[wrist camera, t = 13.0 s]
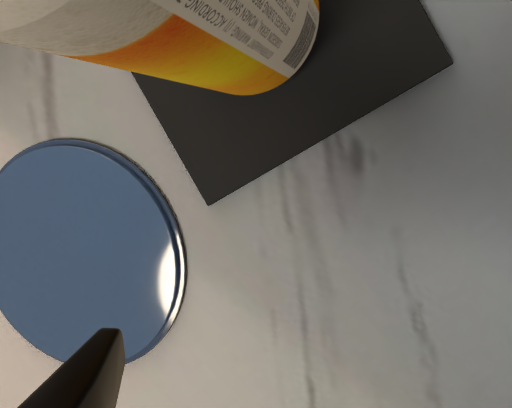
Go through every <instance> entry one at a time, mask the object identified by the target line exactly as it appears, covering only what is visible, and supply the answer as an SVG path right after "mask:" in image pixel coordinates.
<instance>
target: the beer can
mask: <svg viewBox="0 0 512 408" xmlns="http://www.w3.org/2000/svg"><path fill="white" fill-rule="evenodd" d="M318 24H319V1H318V0H0V42H4V43H8V44H13V45H17V46H21V47H26V48H30V49H35V50H39V51H43V52H48V53H52V54H57V55H61V56H65V57H70V58H74V59H79V60H83V61H87V62H92V63H96V64H101V65H105V66H109V67H114V68H118V69H123V70H127V71H131V72H136V73H140V74H145V75H149V76H153V77H158V78H162V79H167V80H171V81H176V82H180V83H184V84H189V85H193V86H198V87H202V88H206V89H211V90H215V91H220V92H224V93H228V94H233V95H254V94H260V93H263V92H266V91H269V90H271V89H273V88H275V87H277V86H279V85H281V84H282V83H284V82H285V81H286V80H288V79H289V78H290V77H291V76H292V75H293V74H294V73H295V72H296V71H297V70H298V69H299V68H300V67H301V65H302V64H303V62H304V61H305V59H306V58H307V56H308V54H309V52H310V51H311V48H312V46H313V43H314V41H315V37H316V34H317V30H318Z"/></svg>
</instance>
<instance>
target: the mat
mask: <svg viewBox="0 0 512 408" xmlns="http://www.w3.org/2000/svg"><path fill="white" fill-rule="evenodd" d="M318 1H319V24H318V30H317V34H316V37H315V41H314V43H313V46H312V48H311V51H310V52H309V54H308V56H307V58H306V59H305V61H304V62H303V64H302V65H301V67H300V68H299V69H298V70H297V71H296V72H295V73H294V74H293V75H292V76H291V77H290V78H289V79H288V80H286V81H285V82H284V83H282V84H281V85H279V86H277V87H275V88H273V89H271V90H269V91H266V92H263V93H260V94H254V95H233V94H228V93H224V92H220V91H215V90H211V89H206V88H202V87H198V86H193V85H189V84H184V83H180V82H176V81H171V80H167V79H162V78H158V77H153V76H149V75H145V74H140V73H136V72H131V73H132V74H133V76H134V78H135V80H136V81H137V83H138V85H139V87H140V88H141V90H142V92H143V94H144V95H145V97H146V99H147V101H148V102H149V104H150V106H151V108H152V109H153V111H154V113H155V115H156V116H157V118H158V120H159V121H160V123H161V125H162V127H163V128H164V130H165V132H166V134H167V135H168V137H169V139H170V141H171V142H172V144H173V146H174V148H175V149H176V151H177V153H178V155H179V156H180V158H181V160H182V162H183V163H184V165H185V167H186V169H187V170H188V172H189V174H190V176H191V177H192V179H193V181H194V183H195V184H196V186H197V188H198V190H199V191H200V193H201V195H202V197H203V198H204V200H205V202H206V204H207V205H208V206H209V205H211V204H213V203H215V202H217V201H218V200H220V199H222V198H223V197H225V196H227V195H229V194H230V193H232V192H234V191H235V190H237V189H239V188H241V187H242V186H244V185H246V184H247V183H249V182H251V181H253V180H254V179H256V178H258V177H260V176H261V175H263V174H265V173H266V172H268V171H270V170H272V169H273V168H275V167H277V166H278V165H280V164H282V163H284V162H285V161H287V160H289V159H290V158H292V157H294V156H296V155H297V154H299V153H301V152H302V151H304V150H306V149H308V148H309V147H311V146H313V145H315V144H316V143H318V142H320V141H321V140H323V139H325V138H327V137H328V136H330V135H332V134H333V133H335V132H337V131H339V130H340V129H342V128H344V127H345V126H347V125H349V124H351V123H352V122H354V121H356V120H357V119H359V118H361V117H363V116H364V115H366V114H368V113H370V112H371V111H373V110H375V109H376V108H378V107H380V106H382V105H383V104H385V103H387V102H388V101H390V100H392V99H394V98H395V97H397V96H399V95H400V94H402V93H404V92H406V91H407V90H409V89H411V88H412V87H414V86H416V85H418V84H419V83H421V82H423V81H425V80H426V79H428V78H430V77H431V76H433V75H435V74H437V73H438V72H440V71H442V70H443V69H445V68H447V67H449V66H450V65H452V64H453V61H452V59H451V57H450V56H449V54H448V52H447V50H446V48H445V47H444V45H443V43H442V41H441V39H440V38H439V36H438V34H437V32H436V30H435V29H434V27H433V25H432V23H431V21H430V20H429V18H428V16H427V14H426V12H425V11H424V9H423V7H422V5H421V3H420V1H419V0H318Z"/></svg>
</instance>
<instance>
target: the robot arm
mask: <svg viewBox="0 0 512 408" xmlns="http://www.w3.org/2000/svg"><path fill="white" fill-rule="evenodd" d="M124 366H125V349H124V342H123V335H122V331H121V330H120V329H118V328H101V329H99V330H98V331H97V332H96V333H95V334H94V335H93V336H92V337H91V338H90V339H89V340H88V341H86V342H85V343H84V344H83V345H82V346H81V347H80V348H79V349H78V350H77V351H76V352H75V353H74V354H73V355H72V356H71V357H70V358H69V359H68V360H67V361H66V362H65V363H64V364H62V365H61V366H60V367H59V368H58V369H57V370H56V371H55V372H54V373H53V374H52V375H51V376H50V377H49V378H48V379H47V380H46V381H45V382H44V383H43V384H42V385H41V386H39V387H38V388H37V389H36V390H35V391H34V392H33V393H32V394H31V395H30V396H29V397H28V398H27V399H26V400H25V401H24V402H23V403H22V404H21V405H20V406H19V407H18V408H115V407H116V402H117V398H118V393H119V389H120V384H121V379H122V375H123V370H124Z"/></svg>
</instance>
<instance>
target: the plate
mask: <svg viewBox="0 0 512 408" xmlns="http://www.w3.org/2000/svg"><path fill="white" fill-rule="evenodd" d="M185 282H186V261H185V252H184V246H183V242H182V238H181V233H180V231H179V228H178V225H177V222H176V219H175V217H174V215H173V213H172V211H171V209H170V207H169V205H168V203H167V201H166V200H165V198H164V197H163V195H162V194H161V192H160V191H159V189H158V188H157V187H156V186H155V184H154V183H153V182H152V181H151V180H150V178H149V177H148V176H147V175H146V174H145V173H144V172H143V171H141V170H140V169H139V168H138V167H137V166H136V165H135V164H133V163H132V162H131V161H129V160H128V159H127V158H125V157H124V156H122V155H120V154H119V153H117V152H115V151H113V150H111V149H109V148H107V147H104V146H101V145H99V144H96V143H92V142H88V141H83V140H74V139H60V140H50V141H46V142H42V143H38V144H36V145H34V146H31V147H29V148H27V149H25V150H23V151H22V152H20V153H19V154H17V155H15V156H14V157H13V158H12V159H11V160H10V161H9V162H7V163H6V164H5V165H4V167H3V168H2V169H1V170H0V310H1V312H2V313H3V315H4V316H5V318H6V319H7V320H8V321H9V323H10V324H11V325H12V326H13V327H14V328H15V329H16V330H17V331H18V332H19V333H20V334H21V335H22V336H23V337H24V338H25V339H26V340H27V341H28V342H30V343H31V344H32V345H33V346H35V347H36V348H37V349H39V350H41V351H42V352H44V353H45V354H47V355H49V356H51V357H53V358H55V359H57V360H59V361H62V362H64V363H65V362H66V361H67V360H68V359H69V358H70V357H71V356H72V355H73V354H74V353H75V352H76V351H77V350H78V349H79V348H80V347H81V346H82V345H83V344H84V343H85V342H86V341H88V340H89V339H90V338H91V337H92V336H93V335H94V334H95V333H96V332H97V331H98V330H99V329H101V328H118V329H120V330H121V331H122V335H123V342H124V349H125V364H127V363H129V362H132V361H134V360H136V359H138V358H140V357H141V356H143V355H145V354H146V353H147V352H149V351H150V350H151V349H152V348H154V347H155V346H156V345H157V344H158V343H159V342H160V341H161V339H162V338H163V337H164V336H165V335H166V334H167V332H168V330H169V329H170V327H171V326H172V324H173V323H174V320H175V318H176V316H177V314H178V312H179V309H180V306H181V302H182V299H183V295H184V288H185Z"/></svg>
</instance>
